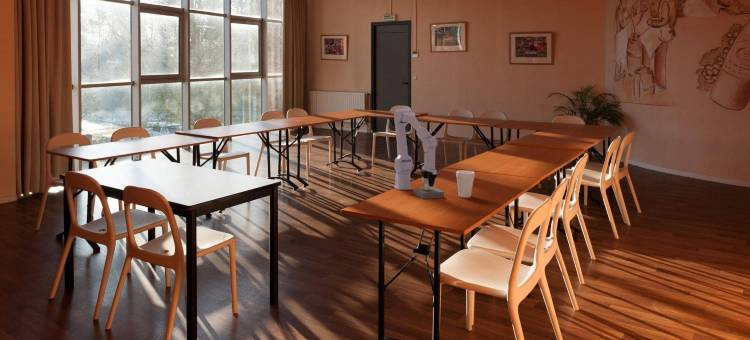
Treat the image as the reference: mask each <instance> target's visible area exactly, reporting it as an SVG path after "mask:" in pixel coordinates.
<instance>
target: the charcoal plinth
mask: <svg viewBox="0 0 750 340" xmlns="http://www.w3.org/2000/svg"><path fill="white" fill-rule="evenodd" d="M413 195H415V196H417V197H418V198H420V199H423V200H424V199H425V200H426V199H439V198H440V199H441V198H445V196H444V195H445V191H443V190H441V189H439V188H437V187H435V189H424V188H422V187H417V188H413Z"/></svg>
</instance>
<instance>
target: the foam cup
mask: <svg viewBox="0 0 750 340" xmlns="http://www.w3.org/2000/svg"><path fill="white" fill-rule="evenodd" d="M455 176H456V183H457V193H458V197H459V196H460V198H471V197H472V196H471V195H472V191H473V190H472V189H473V186H474V180H475V171H473V170H463V169H462V170H456V174H455Z"/></svg>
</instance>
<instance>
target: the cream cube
mask: <svg viewBox="0 0 750 340" xmlns="http://www.w3.org/2000/svg"><path fill="white" fill-rule="evenodd" d="M421 181H422V183H421V185H422V186H421V188H424V189H435V188H436V186H435V184H436V181H435V182H434V185H433V186H432V187H429V181H428V178H423V177H422V179H421Z"/></svg>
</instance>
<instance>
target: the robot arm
mask: <svg viewBox="0 0 750 340" xmlns="http://www.w3.org/2000/svg"><path fill="white" fill-rule="evenodd" d="M393 120H394V121H393V122H394V128H395V137H396V138H395V139H396V146H397V147H396V148H397V157H395V158H394V164H393V167H394V171H395V172H396V173H395V175H394V185H393V187H394V188H395V189H397V190H399V191H406V190H414V188H413V187H411V173H412V171H413V170H414V167H415V164H414V162H413V158H412V157H411V156H410V155H409V152H408V144H407V134H406V133H407V132H406V126H407V125H408V124H410V126H411V127H412V128H413V129H414V130H415V131H416V132H415V133H416V136H418V139H419V140H420V141H421V145H422V148H423V152H424V154H423V155H424V156H423V160H424V161H423V165H421V171H420V173H421V175H422V178H428V181H429V187H432V186H433V185H434V182H435V183H436V179H437V177H438V171H437V169H436V148H437V147H438V146H439V140H438V139H437V137H436V136H433V135H432V134H431V133H430V132H429V131H428V129H427V128H426V127H425V126H424V127H423V126H422V125H421V123H420V122H419V121H418V118H417V117H416V113H415V111H414V110H413V109H412V108H408V109H406V108H405V109H396V110H395V111H394V113H393Z"/></svg>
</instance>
